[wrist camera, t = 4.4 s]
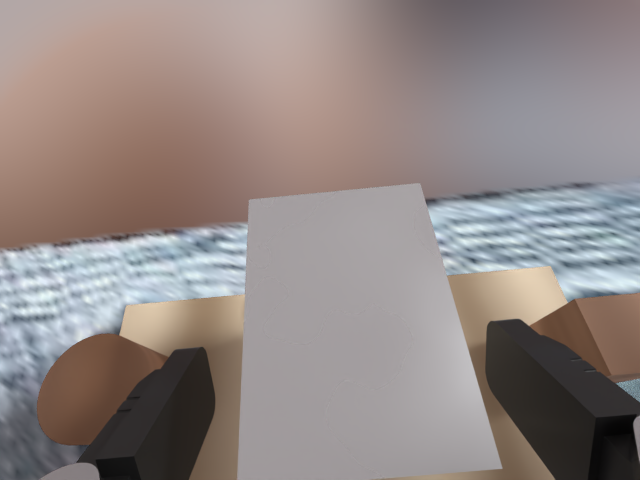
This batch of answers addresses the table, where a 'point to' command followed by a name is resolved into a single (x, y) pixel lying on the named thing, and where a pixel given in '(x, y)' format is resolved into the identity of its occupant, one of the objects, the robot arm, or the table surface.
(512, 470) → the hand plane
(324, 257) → the grey block
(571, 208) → the table surface
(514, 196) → the table surface
